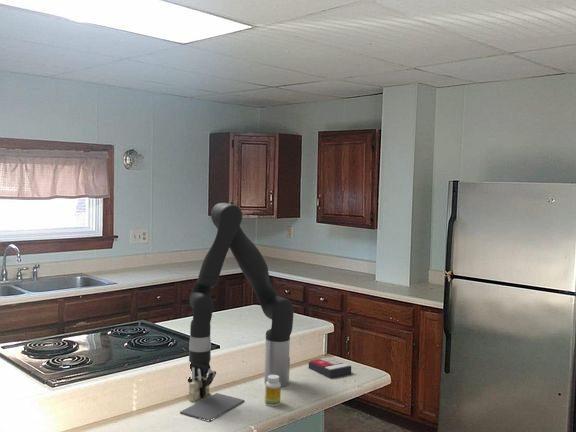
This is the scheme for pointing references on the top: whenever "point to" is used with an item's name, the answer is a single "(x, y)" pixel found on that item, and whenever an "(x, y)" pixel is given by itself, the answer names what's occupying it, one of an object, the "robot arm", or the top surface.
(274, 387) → the supplement bottle
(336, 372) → the red and black box
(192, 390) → the wooden block
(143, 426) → the top surface
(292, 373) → the top surface
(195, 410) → the mat
